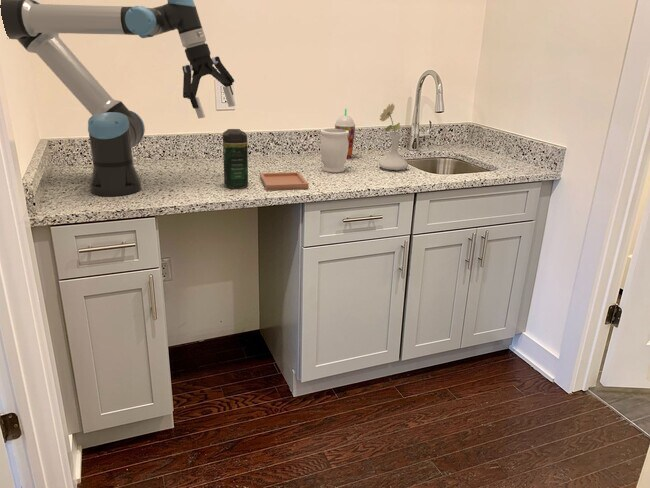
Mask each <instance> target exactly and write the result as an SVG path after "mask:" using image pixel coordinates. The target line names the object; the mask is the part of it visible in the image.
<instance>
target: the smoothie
mask: <svg viewBox="0 0 650 488" xmlns="http://www.w3.org/2000/svg"><path fill="white" fill-rule="evenodd" d="M334 129H343V130H347V131H349V134H348V135H347V137H348V154H347V159H346V160H349V159H351V157H352V155H353V150H354V148H353V147H354V141H355V139H354V138H355V131H356V130H355V129H356V123H355V122H354V120H353V118H352V117H350V116H348V115H347V108H344V115H341V116H340V117H338V119H337V120H336V123H335V124H334Z"/></svg>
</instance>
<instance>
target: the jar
mask: <svg viewBox="0 0 650 488" xmlns="http://www.w3.org/2000/svg"><path fill="white" fill-rule="evenodd" d="M320 134H321V137H320V143H319V144H320V145H319V146H320V147H319V148H320V150H319V152H320V156H321V157H320V158H321V162H322V164H323V166H322V171H324V172H327V173H331V174H332V173H333V174H335V173H336V174H337V173H343V172H344V171H345V167H344V166H345V164H346V162H347V160H348V159H347V154H348V137H347V135H348V134H349V131H347V130H343V129H335V128H323V129H320Z"/></svg>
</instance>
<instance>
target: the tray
mask: <svg viewBox="0 0 650 488" xmlns="http://www.w3.org/2000/svg"><path fill="white" fill-rule="evenodd" d="M259 177H260V181H261V183H262V185H263V186H264V188H265V191H267V192H268V191H272V192H273V191H293V189H294V191H295V189H297V190H309V183H308V181H307V180H306V179H305V178H304V176H303V175H302V174H301V173H300V172H299V171H292V172H266V173H264V172H262V173H259Z"/></svg>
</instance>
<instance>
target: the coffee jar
mask: <svg viewBox="0 0 650 488" xmlns="http://www.w3.org/2000/svg"><path fill="white" fill-rule="evenodd" d="M248 150H249V149H248V135H247V133H246V132H245V131H243V130H242V129H240V128H228V129H226V130H225V131H223V133H222V153H223V182H224V186H225V187H226V188H230V189H231V188H232V189H242V188H247V186H248V185H249V170H248V169H249V168H248V167H249V163H248V161H249V159H248V158H249V155H248Z"/></svg>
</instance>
